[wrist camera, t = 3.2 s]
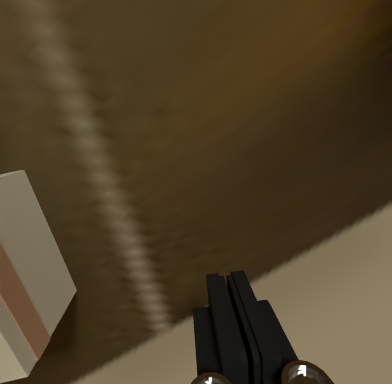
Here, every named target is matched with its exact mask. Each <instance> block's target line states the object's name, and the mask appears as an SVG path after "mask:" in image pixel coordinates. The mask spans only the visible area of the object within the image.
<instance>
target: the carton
mask: <svg viewBox="0 0 392 384" xmlns="http://www.w3.org/2000/svg"><path fill="white" fill-rule="evenodd" d="M76 291H77V289H76V287H75V285H74V283H73V280H72V278H71V276H70V274H69V271H68V269H67V267H66V264H65V262H64V260H63V258H62V255H61V253H60V251H59V249H58V246H57V244H56V242H55V239H54V237H53V235H52V233H51V230H50V228H49V226H48V224H47V221H46V219H45V217H44V214H43V212H42V210H41V208H40V205H39V203H38V201H37V199H36V196H35V194H34V192H33V189H32V187H31V185H30V183H29V180H28V178H27V176H26V174H25V171H24V170H20V171H15V172H10V173H5V174H1V175H0V383H4V382H8V381H12V380H16V379H20V378H25V377H28V376H29V374H30V372H31V370H32V369H33V367H34V365H35V363H36V362H37V361H39V359H40V357H41V356H42V354H43V352H44V350H45V348H46V347H47V345H48V343H49V341H50V340H51V339H50V337H51V335H52V333H53V332H54V330H55V328H56V326H57V325H58V323H59V321H60V319H61V318H62V316H63V314H64V312H65V310H66V309H67V307H68V305H69V303H70V302H71V300H72V298H73V296H74V295H75V293H76Z"/></svg>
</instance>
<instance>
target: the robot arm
mask: <svg viewBox="0 0 392 384" xmlns="http://www.w3.org/2000/svg"><path fill="white" fill-rule="evenodd" d="M206 278H207V291H208V303H209V307H203V308H195V309H193V319H194V333H195V347H196V361H197V375H198V376H197V378H195V379H194V380H193V381H192V383H191V384H334V383H333V382H332V380H331V379H330V378H329V377H328V376H327V375H326V373H325V372H324V371H323V370H322V369H320V368H319V367H317V366H316V365H314V364H312V363H310V362H307V361H301V360H298V358H297V356H296V354H295V352H294V350H293V348H292V346H291V344H290V342H289V340H288V339H287V337H286V335H285V333H284V331H283V329H282V327H281V325H280V323H279V321H278V319H277V317H276V315H275V313H274V311H273V309H272V307H271V305H270V303H269V302H268V301H267V300H261V301H257V299H256V297H255V295H254V293H253V291H252V288H251V286H250V284H249V282H248V279H247V277H246V275H245V273H244V271H243V270H242V271H234V272H231V275H229V276H227V286H226V283H225V279H224V276H220V277H219V274H218V273H216V274H208V275H206Z"/></svg>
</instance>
